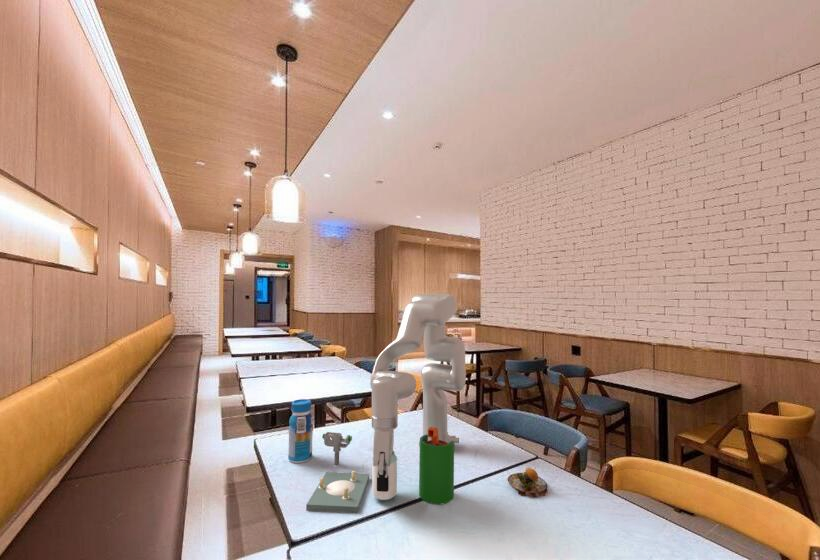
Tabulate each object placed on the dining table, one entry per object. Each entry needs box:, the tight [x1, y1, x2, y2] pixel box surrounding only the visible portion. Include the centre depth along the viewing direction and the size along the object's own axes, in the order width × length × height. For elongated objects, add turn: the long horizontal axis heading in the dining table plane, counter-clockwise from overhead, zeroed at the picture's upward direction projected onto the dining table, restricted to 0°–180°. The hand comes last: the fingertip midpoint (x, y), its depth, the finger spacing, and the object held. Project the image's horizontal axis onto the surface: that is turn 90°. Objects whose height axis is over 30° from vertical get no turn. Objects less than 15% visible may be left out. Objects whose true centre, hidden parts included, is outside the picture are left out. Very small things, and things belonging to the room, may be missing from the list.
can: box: [371, 450, 398, 501], centre depth 103 cm, size 7×7×12 cm
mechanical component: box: [321, 431, 353, 466], centre depth 123 cm, size 3×10×10 cm, turn 79°
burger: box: [506, 466, 549, 499], centre depth 109 cm, size 12×12×8 cm
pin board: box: [305, 470, 370, 513], centre depth 105 cm, size 14×18×4 cm
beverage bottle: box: [287, 398, 314, 464], centre depth 128 cm, size 8×8×20 cm
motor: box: [418, 427, 455, 505], centre depth 105 cm, size 10×9×20 cm
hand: (384, 482), depth 103 cm, fingers closed on can, 7 cm apart
